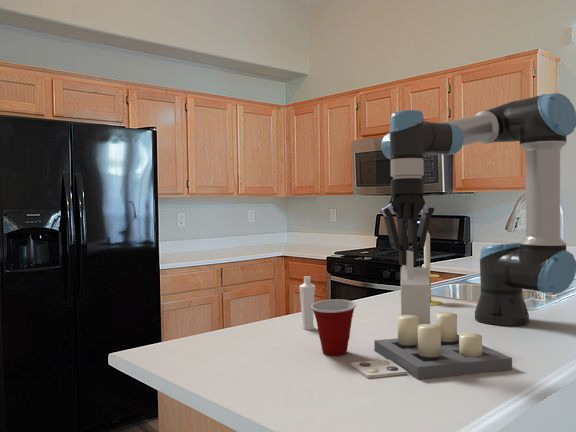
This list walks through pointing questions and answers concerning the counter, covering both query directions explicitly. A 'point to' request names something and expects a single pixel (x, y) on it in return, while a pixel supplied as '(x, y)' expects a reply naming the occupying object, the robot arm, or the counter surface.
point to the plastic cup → (334, 324)
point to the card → (378, 368)
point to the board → (441, 359)
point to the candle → (427, 265)
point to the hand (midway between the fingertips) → (407, 278)
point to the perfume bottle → (307, 303)
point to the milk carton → (416, 295)
